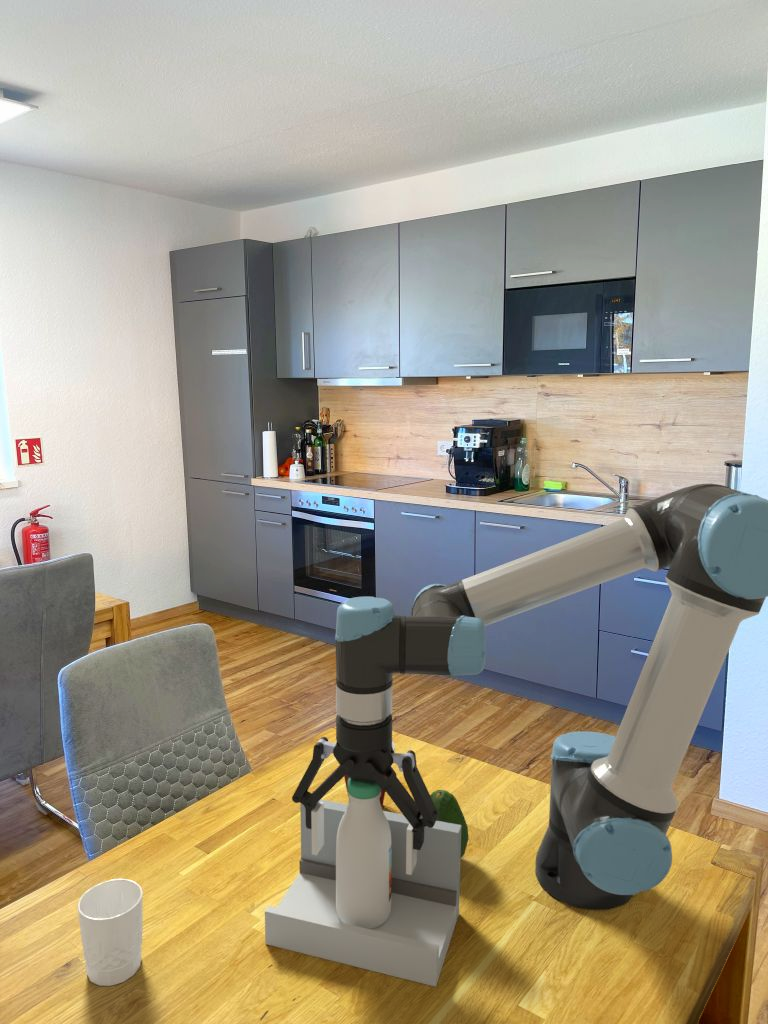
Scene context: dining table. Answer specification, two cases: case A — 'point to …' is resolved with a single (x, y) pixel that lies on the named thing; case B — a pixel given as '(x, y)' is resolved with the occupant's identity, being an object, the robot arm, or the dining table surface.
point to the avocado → (450, 813)
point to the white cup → (111, 930)
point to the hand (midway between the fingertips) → (363, 858)
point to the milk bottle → (363, 859)
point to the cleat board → (414, 904)
